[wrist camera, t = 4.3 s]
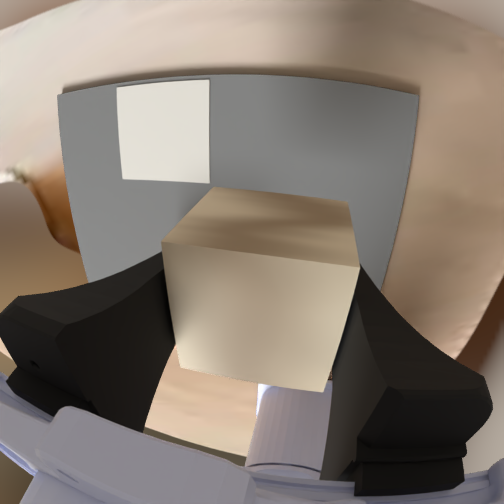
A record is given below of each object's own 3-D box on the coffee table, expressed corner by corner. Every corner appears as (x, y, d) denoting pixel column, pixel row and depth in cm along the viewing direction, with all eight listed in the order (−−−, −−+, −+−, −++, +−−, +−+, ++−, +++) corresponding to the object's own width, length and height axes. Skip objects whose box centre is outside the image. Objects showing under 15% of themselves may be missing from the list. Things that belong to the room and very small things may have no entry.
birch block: (347, 201, 11) (360, 267, 7) (326, 309, 14) (323, 392, 10) (213, 186, 12) (160, 241, 8) (216, 293, 14) (180, 367, 11)
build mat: (416, 95, 14) (419, 95, 14) (363, 337, 23) (363, 343, 23) (61, 94, 18) (56, 95, 18) (95, 292, 27) (91, 296, 27)
